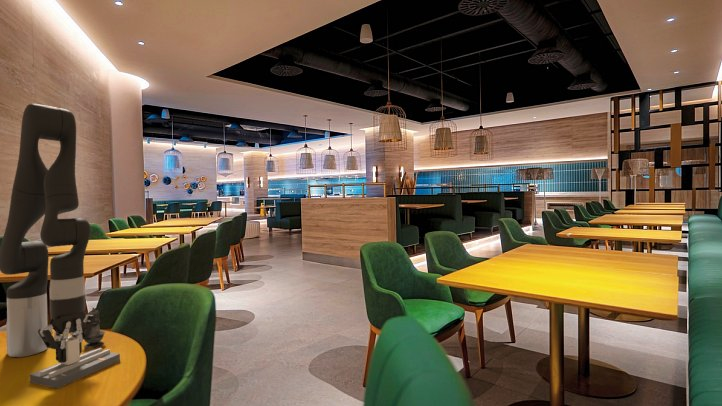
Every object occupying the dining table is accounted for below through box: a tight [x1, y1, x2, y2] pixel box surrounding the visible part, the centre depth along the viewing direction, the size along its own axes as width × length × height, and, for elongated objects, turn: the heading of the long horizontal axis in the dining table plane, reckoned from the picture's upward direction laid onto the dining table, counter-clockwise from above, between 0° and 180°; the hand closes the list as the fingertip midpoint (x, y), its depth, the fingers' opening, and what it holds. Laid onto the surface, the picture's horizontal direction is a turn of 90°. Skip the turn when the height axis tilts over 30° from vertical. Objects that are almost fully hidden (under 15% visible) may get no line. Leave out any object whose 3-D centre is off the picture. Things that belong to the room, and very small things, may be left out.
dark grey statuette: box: [83, 306, 106, 350], centre depth 124 cm, size 6×6×12 cm
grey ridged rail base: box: [29, 347, 121, 390], centre depth 107 cm, size 10×17×3 cm, turn 161°
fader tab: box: [57, 335, 81, 368], centre depth 104 cm, size 4×3×7 cm
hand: (69, 358), depth 104 cm, fingers closed on fader tab, 3 cm apart
